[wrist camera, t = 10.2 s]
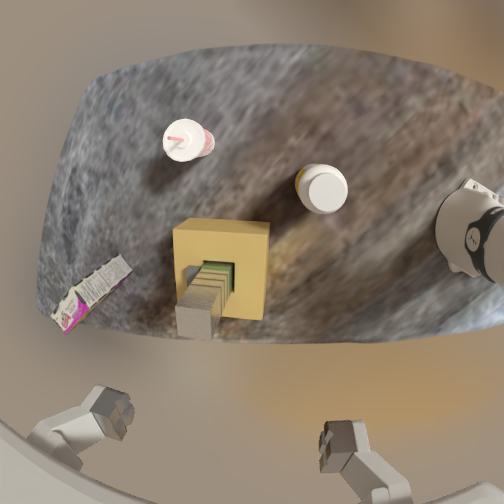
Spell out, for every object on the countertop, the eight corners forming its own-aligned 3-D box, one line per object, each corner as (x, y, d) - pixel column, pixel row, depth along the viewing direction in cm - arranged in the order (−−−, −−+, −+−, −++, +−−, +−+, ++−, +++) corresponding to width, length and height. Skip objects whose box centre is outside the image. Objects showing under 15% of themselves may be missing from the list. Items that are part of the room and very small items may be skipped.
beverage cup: (213, 120, 42) (184, 106, 29) (223, 153, 44) (199, 152, 30) (179, 133, 43) (141, 125, 30) (190, 165, 45) (154, 169, 32)
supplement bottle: (303, 209, 45) (310, 228, 33) (288, 172, 44) (290, 176, 31) (340, 195, 44) (361, 209, 32) (326, 157, 42) (343, 157, 30)
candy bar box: (108, 297, 56) (66, 336, 40) (94, 280, 55) (48, 315, 39) (135, 270, 53) (89, 310, 37) (120, 251, 52) (70, 285, 36)
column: (235, 258, 44) (211, 309, 29) (235, 282, 45) (212, 341, 30) (209, 256, 44) (174, 305, 29) (209, 280, 46) (177, 336, 31)
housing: (270, 222, 47) (266, 237, 38) (265, 297, 51) (261, 326, 42) (188, 217, 48) (167, 231, 39) (191, 290, 52) (174, 316, 44)
